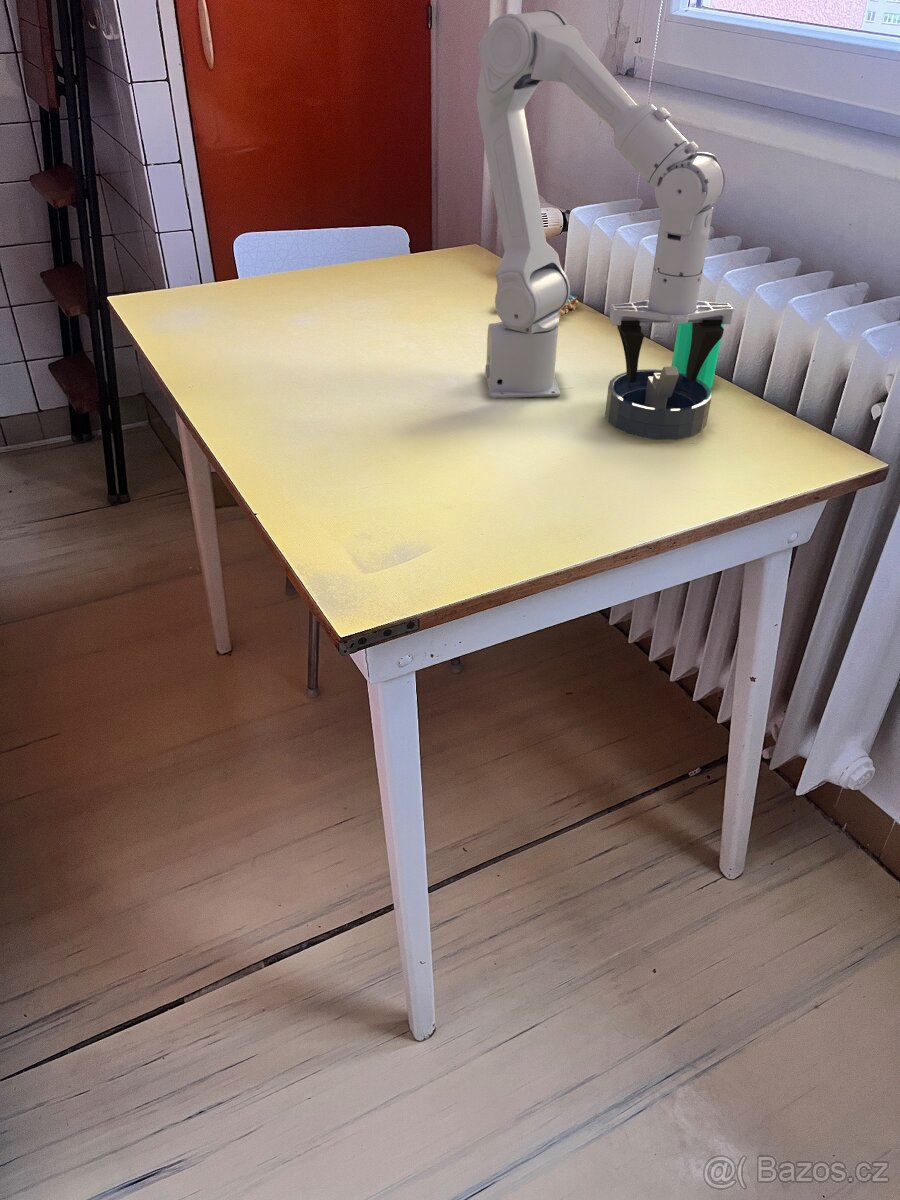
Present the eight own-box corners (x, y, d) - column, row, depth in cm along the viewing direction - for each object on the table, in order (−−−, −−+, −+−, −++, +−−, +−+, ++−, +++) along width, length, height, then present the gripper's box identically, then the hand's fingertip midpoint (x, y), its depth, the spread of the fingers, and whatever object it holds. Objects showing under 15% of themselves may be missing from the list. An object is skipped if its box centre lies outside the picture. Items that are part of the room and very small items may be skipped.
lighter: (643, 407, 123) (651, 348, 118) (656, 406, 123) (665, 348, 118) (656, 431, 117) (665, 370, 113) (670, 430, 117) (679, 370, 113)
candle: (713, 393, 128) (729, 307, 121) (668, 389, 129) (682, 303, 122) (712, 376, 133) (727, 292, 126) (669, 372, 134) (682, 289, 127)
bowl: (616, 445, 115) (620, 411, 113) (596, 401, 126) (599, 370, 123) (718, 443, 116) (724, 409, 114) (689, 400, 126) (695, 368, 124)
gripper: (624, 280, 106) (610, 392, 114) (749, 279, 107) (727, 391, 115) (611, 261, 111) (599, 370, 119) (730, 260, 112) (710, 368, 120)
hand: (660, 378), depth 117 cm, fingers open, 7 cm apart
